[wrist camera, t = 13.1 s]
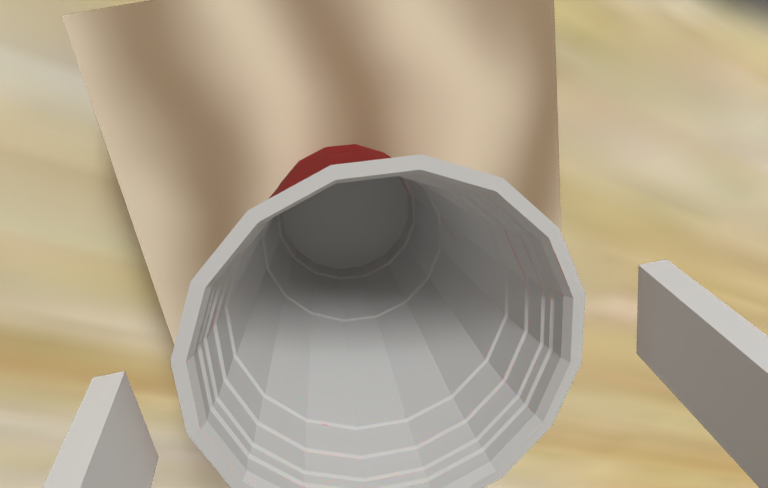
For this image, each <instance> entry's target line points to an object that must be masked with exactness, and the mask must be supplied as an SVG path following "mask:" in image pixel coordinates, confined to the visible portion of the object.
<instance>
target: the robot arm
mask: <svg viewBox="0 0 768 488" xmlns="http://www.w3.org/2000/svg"><path fill="white" fill-rule="evenodd" d="M637 354H638V356H639V357H640V358H641V359H642V360H643V361H644V362H645V363H646V364H647V365H648V366H649V368H650V369H651V370H652V371H653V372H654V373H655V374H656V375H657V376H658V377H659V378H660V380H661V381H662V382H663V383H664V384H665V385H666V386H667V387H668V388H669V389H670V390H671V392H672V393H673V394H674V395H675V396H676V397H677V398H678V399H679V400H680V401H681V403H682V404H683V405H684V406H685V407H686V408H687V409H688V410H689V411H690V412H691V413H692V415H693V416H694V417H695V418H696V419H697V420H698V421H699V422H700V423H701V424H702V425H703V427H704V428H705V429H706V430H707V431H708V432H709V433H710V434H711V435H712V436H713V437H714V439H715V440H716V441H717V442H718V443H719V444H720V445H721V446H722V447H723V448H724V449H725V451H726V452H727V453H728V454H729V455H730V456H731V457H732V458H733V459H734V460H735V461H736V463H737V464H738V465H739V466H740V467H741V468H742V469H743V470H744V471H745V472H746V473H747V475H748V476H749V477H750V478H751V479H752V480H753V481H754V482H755V483H756V484H757V486H758V487H759V488H768V336H767V335H765V334H764V333H763V332H762V331H760V330H759V329H758V328H756V327H755V326H754V325H752V324H751V323H750V322H748V321H747V320H746V319H744V318H743V317H742V316H741V315H739V314H738V313H737V312H735V311H734V310H733V309H731V308H730V307H729V306H727V305H726V304H725V303H723V302H722V301H721V300H720V299H718V298H717V297H716V296H714V295H713V294H712V293H710V292H709V291H708V290H706V289H705V288H704V287H702V286H701V285H700V284H699V283H697V282H696V281H695V280H693V279H692V278H691V277H689V276H688V275H687V274H685V273H684V272H683V271H682V270H680V269H679V268H678V267H676V266H675V265H674V264H672V263H671V262H670V261H668V260H667V259H666V260H661V261H656V262H651V263H646V264H642V265H639V273H638V313H637ZM157 461H158V455H157V452H156V450H155V447H154V444H153V442H152V439H151V437H150V434H149V432H148V429H147V426H146V424H145V421H144V419H143V416H142V414H141V411H140V408H139V406H138V403H137V401H136V398H135V396H134V393H133V390H132V388H131V385H130V383H129V380H128V378H127V375H126V372H125V371H123V372H118V373H113V374H108V375H103V376H99V377H94V378H93V379H92V381H91V383H90V385H89V387H88V390H87V392H86V394H85V396H84V398H83V401H82V403H81V405H80V407H79V409H78V412H77V414H76V416H75V418H74V420H73V423H72V425H71V427H70V429H69V431H68V433H67V436H66V438H65V440H64V442H63V444H62V447H61V449H60V451H59V453H58V455H57V458H56V460H55V462H54V464H53V466H52V469H51V471H50V473H49V475H48V477H47V480H46V482H45V484H44V486H43V488H151V485H152V481H153V477H154V473H155V469H156V465H157Z"/></svg>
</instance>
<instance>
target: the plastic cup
mask: <svg viewBox="0 0 768 488" xmlns="http://www.w3.org/2000/svg"><path fill="white" fill-rule="evenodd" d="M584 309H585V291H584V289H583V286H582V284H581V281H580V279H579V276H578V274H577V271H576V269H575V266H574V264H573V261H572V259H571V256H570V254H569V251H568V249H567V246H566V244H565V241H564V239H563V236H562V234H561V231H560V229H559V228H558V227H557V226H556V225H555V224H554V223H553V222H552V221H551V220H549V219H548V218H547V217H546V216H545V215H544V214H543V213H542V212H541V211H539V210H538V209H537V208H536V207H535V206H534V205H533V204H532V203H530V202H529V201H528V200H527V199H526V198H525V197H524V196H523V195H522V194H520V193H519V192H518V191H517V190H516V189H515V188H514V187H513V186H511V185H510V184H509V183H508V182H507V181H506V180H505V179H504V178H501V177H498V176H494V175H491V174H488V173H484V172H481V171H478V170H474V169H471V168H467V167H464V166H461V165H457V164H454V163H450V162H447V161H444V160H440V159H437V158H434V157H430V156H427V155H423V154H420V155H412V156H403V157H395V158H392V157H390V156H388V155H387V154H385V153H384V152H380V151H377V150H374V149H370V148H367V147H364V146H360V145H357V144H351V145H341V146H330V147H325V148H323V149H321V150H319V151H317V152H315V153H313V154H311V155H309V156H307V157H305V158H304V159H302V160H300V161H298V163H297V164H296V165H295V166H294V167H293V169H292V170H291V171H290V172H289V173H288V175H287V176H286V177H285V178H284V179H283V181H282V182H281V183H280V185H279V186H278V188H277V189H276V190H275V192H274V193H273V194H272V195H271V196H270V198H269V199H268V200H266V201H264V202H262V203H260V204H259V205H257V206H255V207H253V208H251V209H250V210H248V211H247V212H246V213H245V214H244V216H243V217H242V218H241V219H240V221H239V222H238V223H237V224H236V226H235V227H234V228H233V229H232V230H231V232H230V233H229V234H228V235H227V237H226V238H225V239H224V240H223V242H222V243H221V244H220V245H219V247H218V248H217V249H216V250H215V252H214V253H213V254H212V255H211V257H210V258H209V259H208V260H207V262H206V263H205V264H204V265H203V267H202V268H201V269H200V270H199V272H198V273H197V274H196V275H195V276H194V278H193V279H192V280H191V282H190V286H189V289H188V293H187V297H186V301H185V305H184V309H183V313H182V317H181V321H180V325H179V329H178V333H177V337H176V341H175V345H174V349H173V353H172V356H171V360H170V362H171V367H172V371H173V375H174V380H175V384H176V389H177V393H178V398H179V402H180V407H181V411H182V416H183V420H184V425H185V429H186V434H187V435H188V436H189V438H190V439H191V440H192V441H193V442H194V444H195V445H196V446H197V447H198V449H199V450H200V451H201V452H202V453H203V455H204V456H205V457H206V458H207V459H208V461H209V462H210V463H211V464H212V466H213V467H214V468H215V469H216V470H217V472H218V473H219V474H220V475H221V476H222V478H223V479H224V480H225V481H226V483H227V484H228V485H229V486H230V487H231V488H484V487H486V486H488V485H490V484H491V483H493V482H495V481H497V480H499V479H500V478H502V477H503V476H504V475H505V474H506V473H507V472H508V471H509V470H510V469H511V468H512V467H513V466H514V465H515V464H516V463H517V462H518V461H519V460H520V459H521V458H522V456H523V455H524V454H525V453H526V452H527V451H528V450H529V449H530V448H531V447H532V446H533V445H534V444H535V443H536V442H537V441H538V440H539V439H540V438H541V437H542V436H543V435H544V433H545V432H546V431H547V430H548V429H549V428H550V427H551V426H552V425H553V423H554V420H555V418H556V416H557V414H558V412H559V410H560V407H561V405H562V403H563V401H564V399H565V397H566V395H567V392H568V390H569V388H570V386H571V384H572V382H573V379H574V377H575V375H576V373H577V371H578V369H579V367H580V364H581V362H582V345H583V327H584Z"/></svg>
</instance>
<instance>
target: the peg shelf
mask: <svg viewBox="0 0 768 488" xmlns="http://www.w3.org/2000/svg"><path fill="white" fill-rule="evenodd" d="M62 18H63V21H64V24H65V27H66V30H67V33H68V36H69V39H70V42H71V45H72V48H73V50H74V53H75V56H76V59H77V62H78V65H79V68H80V71H81V74H82V77H83V80H84V83H85V86H86V88H87V91H88V94H89V97H90V100H91V103H92V106H93V109H94V112H95V115H96V118H97V121H98V124H99V127H100V129H101V132H102V135H103V138H104V141H105V144H106V147H107V150H108V153H109V156H110V159H111V162H112V165H113V168H114V170H115V173H116V176H117V179H118V182H119V185H120V188H121V191H122V194H123V197H124V200H125V203H126V206H127V209H128V211H129V214H130V217H131V220H132V223H133V226H134V229H135V232H136V235H137V238H138V241H139V244H140V247H141V250H142V252H143V255H144V258H145V261H146V264H147V267H148V270H149V273H150V276H151V279H152V282H153V285H154V288H155V290H156V293H157V296H158V299H159V302H160V305H161V308H162V311H163V314H164V317H165V320H166V323H167V326H168V329H169V331H170V334H171V337H172V340H173V343H174V345H175V341H176V337H177V333H178V329H179V325H180V321H181V317H182V313H183V309H184V305H185V301H186V297H187V293H188V289H189V286H190V282H191V280H192V279H193V278H194V276H195V275H196V274H197V273H198V272H199V270H200V269H201V268H202V267H203V265H204V264H205V263H206V262H207V260H208V259H209V258H210V257H211V255H212V254H213V253H214V252H215V250H216V249H217V248H218V247H219V245H220V244H221V243H222V242H223V240H224V239H225V238H226V237H227V235H228V234H229V233H230V232H231V230H232V229H233V228H234V227H235V226H236V224H237V223H238V222H239V221H240V219H241V218H242V217H243V216H244V214H245V213H246V212H247V211H248V210H250V209H251V208H253V207H255V206H257V205H259V204H260V203H262V202H264V201H266V200H268V199H269V198H270V196H271V195H272V194H273V193H274V192H275V190H276V189H277V188H278V186H279V185H280V183H281V182H282V181H283V179H284V178H285V177H286V176H287V175H288V173H289V172H290V171H291V170H292V169H293V167H294V166H295V165H296V164H297V163H298V161H300V160H302V159H304V158H305V157H307V156H309V155H311V154H313V153H315V152H317V151H319V150H321V149H323V148H325V147H330V146H341V145H351V144H357V145H360V146H364V147H367V148H370V149H374V150H377V151H380V152H384V153H385V154H387V155H388V156H390V157H392V158H395V157H403V156H412V155H420V154H423V155H427V156H430V157H434V158H437V159H440V160H444V161H447V162H450V163H454V164H457V165H461V166H464V167H467V168H471V169H474V170H478V171H481V172H484V173H488V174H491V175H494V176H498V177H501V178H504V179H505V180H506V181H507V182H508V183H509V184H510V185H511V186H513V187H514V188H515V189H516V190H517V191H518V192H519V193H520V194H522V195H523V196H524V197H525V198H526V199H527V200H528V201H529V202H530V203H532V204H533V205H534V206H535V207H536V208H537V209H538V210H539V211H541V212H542V213H543V214H544V215H545V216H546V217H547V218H548V219H549V220H551V221H552V222H553V223H554V224H555V225H556V226H557V227H558V228H559V229H560V231H561V206H560V175H559V143H558V112H557V81H556V50H555V19H554V0H149V1H143V2H137V3H131V4H125V5H119V6H113V7H107V8H100V9H94V10H88V11H82V12H76V13H71V14H67V15H62Z"/></svg>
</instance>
